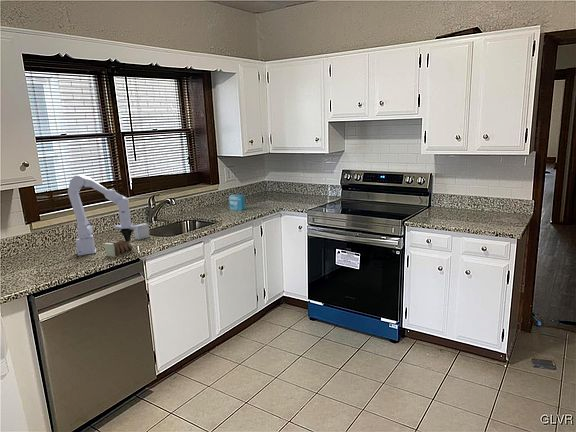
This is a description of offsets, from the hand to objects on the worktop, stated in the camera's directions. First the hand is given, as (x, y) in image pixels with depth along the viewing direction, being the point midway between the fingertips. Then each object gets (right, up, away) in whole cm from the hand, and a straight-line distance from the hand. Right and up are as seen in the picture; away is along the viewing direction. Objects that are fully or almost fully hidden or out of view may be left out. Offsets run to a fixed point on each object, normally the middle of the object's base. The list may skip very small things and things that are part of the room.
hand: (128, 241), depth 250 cm
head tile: (0, -4, +1) cm, 4 cm away
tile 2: (-1, -5, -2) cm, 5 cm away
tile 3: (-2, -6, -5) cm, 8 cm away
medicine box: (0, +1, +25) cm, 25 cm away
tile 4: (-4, -6, -8) cm, 11 cm away
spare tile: (-5, -7, -12) cm, 15 cm away
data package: (+51, +20, +103) cm, 117 cm away
